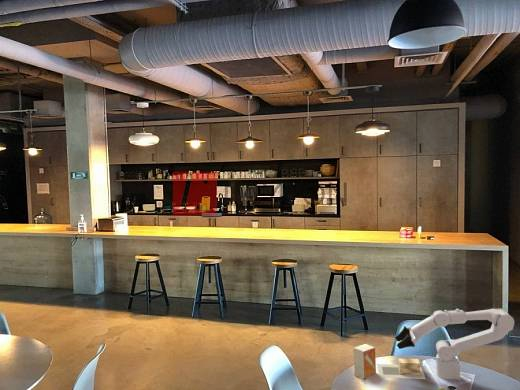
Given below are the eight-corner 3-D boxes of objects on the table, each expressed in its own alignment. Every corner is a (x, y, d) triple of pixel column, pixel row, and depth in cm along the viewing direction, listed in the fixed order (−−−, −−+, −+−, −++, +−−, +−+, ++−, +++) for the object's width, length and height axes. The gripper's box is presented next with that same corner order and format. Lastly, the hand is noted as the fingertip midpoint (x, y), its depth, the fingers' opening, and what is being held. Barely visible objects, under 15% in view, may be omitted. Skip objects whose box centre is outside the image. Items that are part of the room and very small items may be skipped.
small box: (364, 380, 192) (363, 351, 192) (354, 375, 198) (352, 347, 197) (376, 374, 197) (375, 347, 196) (366, 370, 202) (365, 343, 202)
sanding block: (418, 369, 198) (418, 358, 198) (420, 374, 193) (420, 363, 193) (398, 368, 200) (398, 358, 199) (399, 373, 195) (399, 362, 195)
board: (420, 367, 202) (420, 365, 202) (426, 381, 188) (425, 379, 188) (377, 366, 206) (376, 364, 206) (379, 379, 192) (379, 377, 192)
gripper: (415, 315, 199) (390, 329, 203) (419, 327, 185) (393, 343, 189) (424, 327, 199) (399, 341, 202) (429, 340, 185) (402, 356, 188)
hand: (397, 343), depth 195 cm, fingers open, 7 cm apart
